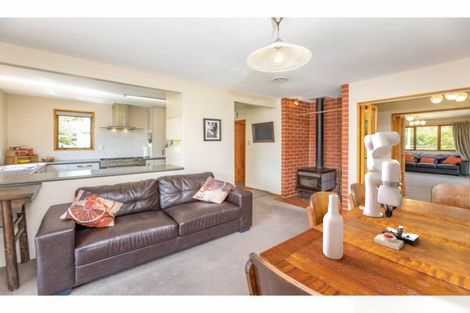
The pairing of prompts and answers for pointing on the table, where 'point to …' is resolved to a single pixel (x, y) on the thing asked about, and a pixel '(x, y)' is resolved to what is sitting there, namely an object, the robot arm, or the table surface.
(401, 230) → the hob knob
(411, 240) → the panel
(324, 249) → the alcohol
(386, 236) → the button
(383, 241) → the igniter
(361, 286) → the table surface
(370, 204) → the robot arm
